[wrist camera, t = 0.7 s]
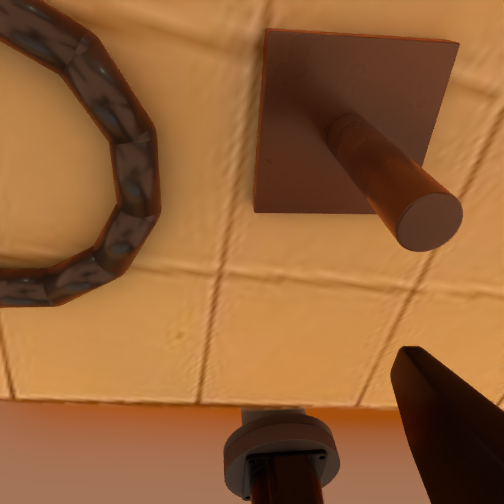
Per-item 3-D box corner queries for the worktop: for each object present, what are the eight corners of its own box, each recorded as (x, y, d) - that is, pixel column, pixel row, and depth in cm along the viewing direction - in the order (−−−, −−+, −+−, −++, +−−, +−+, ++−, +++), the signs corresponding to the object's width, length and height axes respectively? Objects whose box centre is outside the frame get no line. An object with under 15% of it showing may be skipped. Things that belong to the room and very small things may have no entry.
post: (399, 205, 22) (500, 322, 15) (252, 204, 21) (280, 327, 14) (448, 40, 18) (630, 85, 10) (265, 28, 17) (317, 68, 9)
